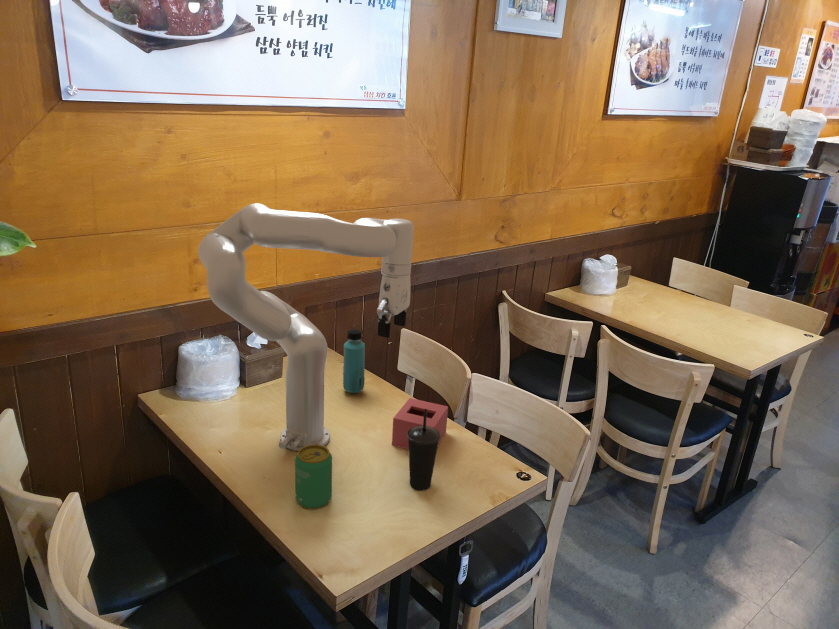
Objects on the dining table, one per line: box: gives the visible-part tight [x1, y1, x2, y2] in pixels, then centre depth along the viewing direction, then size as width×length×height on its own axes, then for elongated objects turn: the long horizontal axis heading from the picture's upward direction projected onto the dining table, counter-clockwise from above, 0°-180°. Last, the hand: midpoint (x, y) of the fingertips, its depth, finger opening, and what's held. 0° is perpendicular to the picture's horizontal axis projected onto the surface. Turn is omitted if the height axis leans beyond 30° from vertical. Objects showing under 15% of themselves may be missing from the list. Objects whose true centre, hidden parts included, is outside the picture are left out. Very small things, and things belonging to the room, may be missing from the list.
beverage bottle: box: [342, 328, 366, 394], centre depth 184 cm, size 6×7×20 cm
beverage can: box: [294, 445, 333, 510], centre depth 137 cm, size 8×8×12 cm
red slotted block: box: [391, 397, 449, 450], centre depth 164 cm, size 12×11×8 cm
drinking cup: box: [407, 409, 441, 492], centre depth 143 cm, size 8×8×20 cm
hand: (391, 330), depth 164 cm, fingers open, 9 cm apart
